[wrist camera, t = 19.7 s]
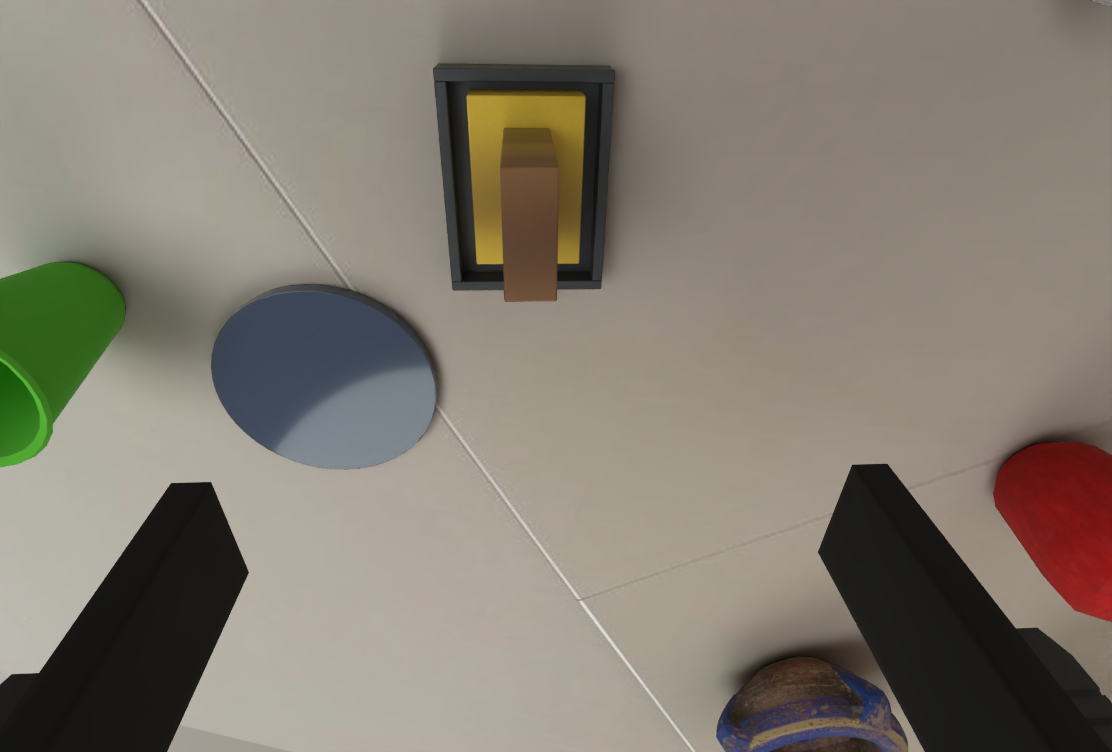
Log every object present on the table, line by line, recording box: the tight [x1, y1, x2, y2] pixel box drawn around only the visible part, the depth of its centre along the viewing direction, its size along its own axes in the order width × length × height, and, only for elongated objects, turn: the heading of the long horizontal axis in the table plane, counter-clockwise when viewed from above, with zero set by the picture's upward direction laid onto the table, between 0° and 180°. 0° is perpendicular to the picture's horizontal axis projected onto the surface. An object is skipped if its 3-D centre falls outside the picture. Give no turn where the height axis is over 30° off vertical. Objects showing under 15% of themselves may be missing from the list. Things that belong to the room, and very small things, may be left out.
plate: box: [211, 284, 438, 470], centre depth 41 cm, size 15×15×1 cm
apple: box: [993, 443, 1112, 622], centre depth 45 cm, size 11×10×14 cm
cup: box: [0, 262, 125, 467], centre depth 33 cm, size 9×9×11 cm
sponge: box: [466, 88, 586, 302], centre depth 30 cm, size 9×6×10 cm, turn 179°
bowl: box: [716, 657, 908, 752], centre depth 63 cm, size 18×18×10 cm
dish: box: [433, 64, 615, 290], centre depth 34 cm, size 12×9×2 cm
